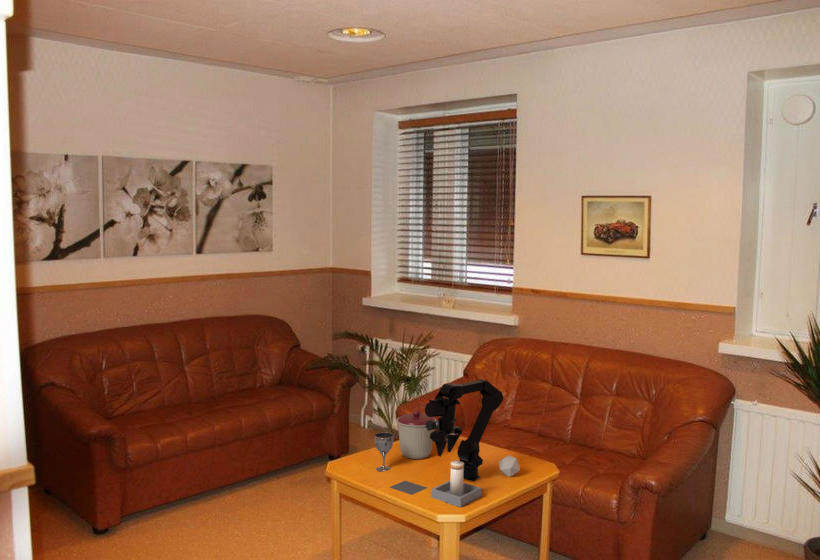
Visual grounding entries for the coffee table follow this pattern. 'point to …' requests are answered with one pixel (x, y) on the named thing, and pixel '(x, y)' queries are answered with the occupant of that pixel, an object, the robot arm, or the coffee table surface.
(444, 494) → the bin
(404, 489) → the mat
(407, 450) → the canister
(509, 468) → the die
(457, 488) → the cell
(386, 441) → the wine glass
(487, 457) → the coffee table surface
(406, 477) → the coffee table surface
